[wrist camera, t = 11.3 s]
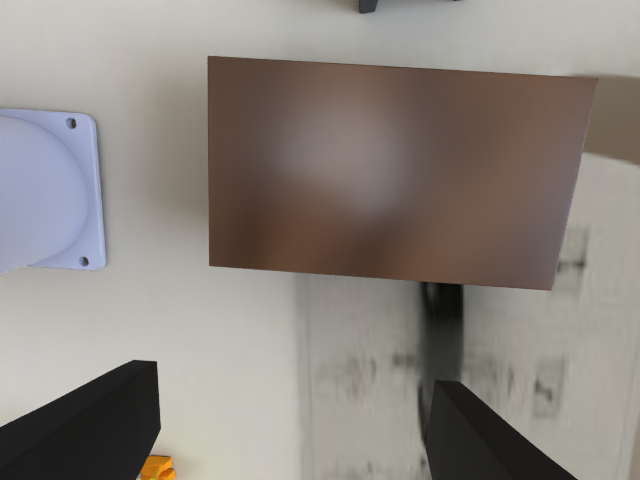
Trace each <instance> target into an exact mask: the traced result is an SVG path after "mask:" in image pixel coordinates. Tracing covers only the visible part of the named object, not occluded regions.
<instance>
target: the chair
mask: <svg viewBox="0 0 640 480" xmlns="http://www.w3.org/2000/svg"><path fill="white" fill-rule="evenodd" d="M377 1H378V0H359V10H360V13H368V12H374V11H375V8H376V5H377ZM454 1H456V0H454Z"/></svg>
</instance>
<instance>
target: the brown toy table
mask: <svg viewBox="0 0 640 480" xmlns="http://www.w3.org/2000/svg"><path fill="white" fill-rule="evenodd" d="M598 81H599V79H597V78H582V77H565V76H548V75H531V74H513V73H496V72H479V71H462V70H444V69H427V68H410V67H393V66H375V65H358V64H341V63H324V62H306V61H289V60H272V59H255V58H238V57H220V56H208V173H209V266H215V267H229V268H243V269H257V270H271V271H285V272H299V273H313V274H327V275H341V276H355V277H369V278H383V279H397V280H411V281H425V282H439V283H453V284H466V285H480V286H494V287H508V288H522V289H536V290H552V288H553V284H554V279H555V275H556V270H557V266H558V261H559V257H560V252H561V248H562V243H563V239H564V234H565V230H566V225H567V221H568V216H569V212H570V207H571V202H572V198H573V193H574V189H575V184H576V180H577V175H578V171H579V166H580V162H581V157H582V153H583V148H584V144H585V139H586V135H587V130H588V126H589V121H590V117H591V112H592V108H593V103H594V99H595V94H596V90H597V85H598Z"/></svg>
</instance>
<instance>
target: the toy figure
mask: <svg viewBox="0 0 640 480" xmlns="http://www.w3.org/2000/svg"><path fill="white" fill-rule="evenodd" d="M172 465H173V463H172V459H171V457H161V456H149V457H148V458H147V460H146V462H145V464H144V466H143V468H142V470H141V471H140V472H141V473H142V474H144V475H143V476H142V478H141V480H173V479H174V478H175V477H176V475H175V472H174V469H168V468H170V467H171V466H172Z"/></svg>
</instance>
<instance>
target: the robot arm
mask: <svg viewBox="0 0 640 480" xmlns="http://www.w3.org/2000/svg"><path fill="white" fill-rule="evenodd" d="M73 119H74V120H75V121H76V127H75V128H73V127H72V124H71V123H72V120H73ZM84 257H86V258H87V259H88V264H87V263H86V262H85V261H84ZM105 265H106V252H105V239H104V225H103V212H102V199H101V186H100V173H99V160H98V147H97V133H96V124H95V121H94V119H93V118H92V117H91V116H90V115H88V114H83V113H71V112H55V111H39V110H23V109H7V108H0V275H2V274H4V273H7V272H10V271H13V270H16V269H19V268H21V267H24V266H34V267H48V268H62V269H75V270H89V271H97V270H100V269H102V268H103V267H104V266H105ZM160 430H161V424H160V407H159V390H158V373H157V361H142V360H133V361H130V362H128V363H126V364H123V365H121V366H119V367H117V368H115V369H113V370H111V371H109V372H107V373H105V374H104V375H102V376H100V377H98V378H96V379H94V380H92V381H90V382H88V383H87V384H85V385H83V386H81V387H79V388H77V389H75V390H73V391H71V392H69V393H67V394H66V395H64V396H62V397H60V398H58V399H56V400H54V401H52V402H50V403H48V404H46V405H44V406H42V407H40V408H38V409H36V410H34V411H32V412H30V413H28V414H26V415H24V416H22V417H20V418H18V419H16V420H14V421H12V422H10V423H8V424H6V425H4V426H2V427H0V480H136V478H137V477H138V475H139V473H140V471H141V470H142V468H143V466H144V464H145V462H146V460H147V458H148V456H149V454H150V452H151V449H152V447H153V445H154V443H155V441H156V438H157V436H158V434H159V432H160ZM426 452H427V457H428V462H429V467H430V472H431V476H432V480H578V479H576V478H575V477H574V476H572V475H571V474H570V473H569V472H567V471H566V470H565V469H563V468H562V467H561V466H559V465H558V464H557V463H556V462H554V461H553V460H552V459H550V458H549V457H548V456H547V455H545V454H544V453H543V452H542V451H540V450H539V449H538V448H537V447H536V446H534V445H533V444H532V443H531V442H529V441H528V440H527V439H526V438H525V437H523V436H522V435H521V434H520V433H519V432H518V431H516V430H515V429H514V428H513V427H512V426H510V425H509V424H508V423H507V422H506V421H505V420H503V419H502V418H501V417H500V416H499V415H498V414H497V413H495V412H494V411H493V410H492V409H491V408H490V407H489V406H487V405H486V404H485V403H484V402H483V401H482V400H481V399H479V398H478V397H477V396H476V395H475V394H474V393H473V392H471V391H470V390H469V389H468V388H467V387H465V386H464V385H463V384H462V383H460V382H456V381H441V380H435V384H434V392H433V399H432V406H431V413H430V420H429V428H428V435H427V442H426Z"/></svg>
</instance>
